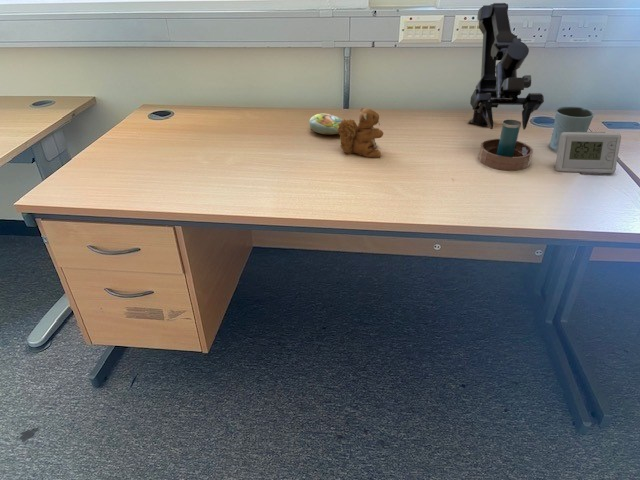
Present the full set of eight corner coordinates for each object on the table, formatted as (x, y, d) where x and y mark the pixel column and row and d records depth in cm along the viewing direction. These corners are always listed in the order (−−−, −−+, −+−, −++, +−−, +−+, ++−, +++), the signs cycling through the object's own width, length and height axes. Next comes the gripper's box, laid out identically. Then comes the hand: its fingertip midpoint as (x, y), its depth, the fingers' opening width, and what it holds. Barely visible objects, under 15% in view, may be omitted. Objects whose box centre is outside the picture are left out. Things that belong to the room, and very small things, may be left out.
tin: (498, 155, 138) (506, 118, 131) (514, 159, 135) (523, 121, 129) (492, 161, 135) (500, 123, 128) (509, 165, 132) (517, 126, 126)
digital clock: (552, 173, 129) (562, 137, 123) (549, 160, 136) (558, 125, 130) (616, 180, 124) (630, 143, 118) (610, 166, 131) (623, 130, 126)
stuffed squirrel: (382, 157, 140) (385, 115, 132) (336, 157, 140) (336, 115, 133) (381, 145, 148) (383, 104, 140) (337, 145, 149) (337, 104, 141)
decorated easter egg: (329, 114, 166) (351, 110, 153) (329, 136, 167) (351, 134, 154) (302, 113, 161) (322, 108, 148) (302, 136, 162) (322, 133, 149)
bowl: (488, 148, 144) (491, 135, 141) (535, 159, 136) (539, 145, 134) (470, 164, 134) (473, 150, 132) (519, 176, 127) (523, 162, 125)
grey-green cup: (586, 148, 142) (598, 110, 136) (575, 158, 136) (587, 119, 130) (553, 140, 148) (563, 103, 141) (541, 150, 142) (551, 112, 135)
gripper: (481, 63, 128) (482, 115, 125) (550, 64, 126) (553, 116, 123) (471, 85, 139) (472, 132, 136) (535, 85, 137) (537, 133, 134)
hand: (508, 128), depth 132 cm, fingers open, 9 cm apart
